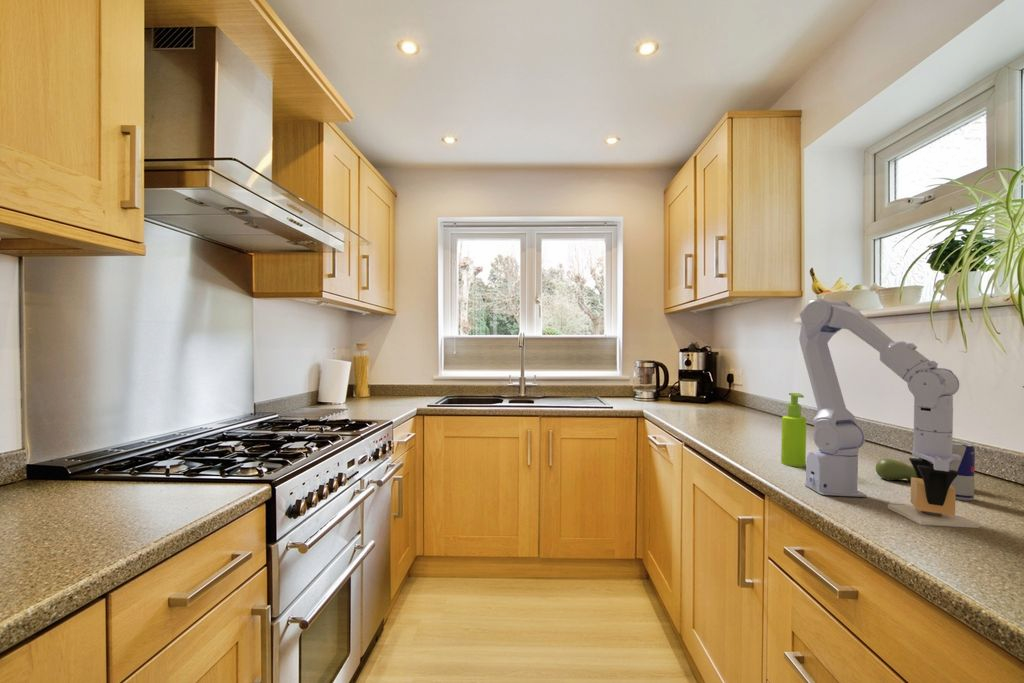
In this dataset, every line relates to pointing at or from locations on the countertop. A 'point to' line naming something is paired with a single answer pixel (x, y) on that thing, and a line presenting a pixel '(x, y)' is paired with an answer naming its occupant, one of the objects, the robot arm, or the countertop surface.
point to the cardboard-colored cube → (922, 504)
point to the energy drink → (963, 470)
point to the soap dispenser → (794, 434)
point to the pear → (894, 470)
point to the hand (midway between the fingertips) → (931, 500)
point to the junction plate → (933, 517)
